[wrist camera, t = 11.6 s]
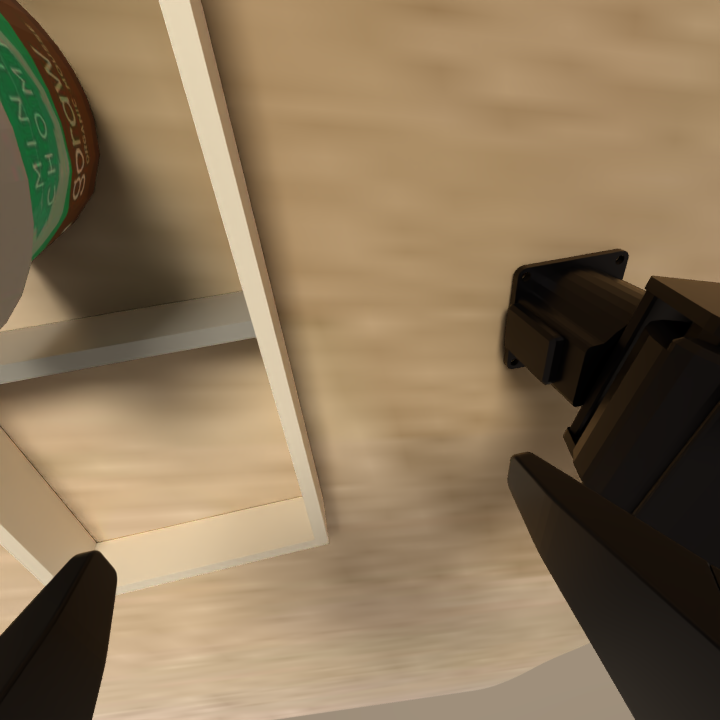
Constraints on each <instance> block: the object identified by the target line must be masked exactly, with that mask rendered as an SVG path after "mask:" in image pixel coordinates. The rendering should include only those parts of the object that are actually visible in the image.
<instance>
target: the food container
mask: <svg viewBox="0 0 720 720" xmlns="http://www.w3.org/2000/svg"><path fill="white" fill-rule="evenodd" d="M99 157H100V152H99V146H98V140H97V134H96V127H95V121H94V117H93V115H92V112H91V109H90V106H89V103H88V100H87V97H86V95H85V93H84V91H83V89H82V87H81V85H80V83H79V81H78V79H77V77H76V75H75V73H74V71H73V69H72V68H71V66H70V65H69V63H68V62H67V60H66V59H65V57H64V56H63V54H62V52H61V51H60V49H59V48H58V46H57V45H56V44H55V43H54V41H53V40H52V39H51V38H50V37H49V35H48V34H47V33H46V32H45V30H44V29H43V28H42V27H41V26H40V24H39V23H38V22H37V21H36V20H35V19H34V18H33V17H32V16H31V15H30V14H29V13H28V12H27V11H26V10H25V9H24V8H23V7H22V6H21V5H20V4H19V3H18V2H17V1H16V0H0V329H1V328H2V327H3V326H4V325H5V324H6V323H7V321H8V319H9V317H10V315H11V314H12V312H13V310H14V308H15V307H16V305H17V303H18V301H19V300H20V298H21V296H22V293H23V290H24V286H25V283H26V280H27V276H28V273H29V269H30V266H31V261H32V260H34V259H35V258H36V257H37V256H38V255H39V254H40V253H41V252H42V251H43V250H44V249H45V248H47V247H48V246H49V245H50V244H51V243H52V242H53V241H54V240H55V239H56V238H57V237H59V236H60V235H61V234H62V233H63V232H64V231H65V230H66V229H67V228H68V227H69V226H71V225H72V224H73V223H74V222H75V221H76V219H77V218H78V216H79V215H80V213H81V211H82V210H83V208H84V207H85V205H86V204H87V202H88V200H89V199H90V197H91V196H92V194H93V193H94V188H95V182H96V176H97V169H98V163H99Z"/></svg>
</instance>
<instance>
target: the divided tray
mask: <svg viewBox="0 0 720 720" xmlns="http://www.w3.org/2000/svg"><path fill="white" fill-rule="evenodd" d="M159 3H160V6H161V10H162V13H163V17H164V20H165V24H166V27H167V31H168V34H169V38H170V41H171V44H172V48H173V51H174V55H175V58H176V62H177V65H178V69H179V72H180V76H181V79H182V82H183V86H184V89H185V93H186V96H187V100H188V103H189V107H190V110H191V113H192V117H193V120H194V124H195V127H196V131H197V134H198V138H199V141H200V145H201V148H202V151H203V155H204V158H205V162H206V165H207V169H208V172H209V176H210V179H211V183H212V186H213V189H214V193H215V196H216V200H217V203H218V207H219V210H220V214H221V217H222V221H223V224H224V227H225V231H226V234H227V238H228V241H229V245H230V248H231V252H232V255H233V259H234V262H235V265H236V269H237V272H238V276H239V279H240V283H241V286H242V290H243V291H239V292H233V293H227V294H221V295H215V296H210V297H204V298H198V299H192V300H186V301H180V302H174V303H168V304H163V305H157V306H151V307H145V308H139V309H133V310H127V311H121V312H116V313H110V314H104V315H98V316H92V317H86V318H80V319H74V320H69V321H63V322H57V323H51V324H45V325H39V326H33V327H27V328H22V329H16V330H10V331H4V332H0V384H4V383H10V382H15V381H21V380H26V379H32V378H37V377H42V376H48V375H53V374H59V373H64V372H70V371H75V370H81V369H86V368H92V367H97V366H103V365H108V364H113V363H119V362H124V361H130V360H135V359H141V358H146V357H152V356H157V355H163V354H168V353H174V352H179V351H184V350H190V349H195V348H201V347H206V346H212V345H217V344H223V343H228V342H234V341H239V340H245V339H250V338H257V341H258V345H259V348H260V352H261V355H262V359H263V362H264V366H265V369H266V372H267V376H268V379H269V383H270V386H271V390H272V393H273V397H274V400H275V404H276V407H277V410H278V414H279V417H280V421H281V424H282V428H283V431H284V435H285V438H286V442H287V445H288V448H289V452H290V455H291V459H292V462H293V466H294V469H295V473H296V476H297V480H298V483H299V486H300V490H301V493H302V497H297V498H293V499H288V500H284V501H280V502H275V503H271V504H266V505H262V506H258V507H253V508H249V509H245V510H240V511H236V512H231V513H227V514H223V515H218V516H214V517H209V518H205V519H201V520H196V521H192V522H187V523H183V524H179V525H174V526H170V527H165V528H161V529H157V530H152V531H148V532H143V533H139V534H135V535H130V536H126V537H122V538H117V539H113V540H108V541H104V542H100V543H96V542H95V540H94V539H93V538H92V537H91V536H90V534H89V533H88V532H87V531H86V530H85V528H84V527H83V526H82V525H81V523H80V522H79V521H78V520H77V519H76V517H75V516H74V515H73V514H72V513H71V511H70V510H69V509H68V508H67V507H66V505H65V504H64V503H63V502H62V501H61V499H60V498H59V497H58V496H57V495H56V493H55V492H54V491H53V490H52V489H51V487H50V486H49V485H48V484H47V482H46V481H45V480H44V479H43V478H42V476H41V475H40V474H39V473H38V472H37V470H36V469H35V468H34V467H33V466H32V464H31V463H30V462H29V461H28V460H27V458H26V457H25V456H24V455H23V454H22V452H21V451H20V450H19V449H18V448H17V446H16V445H15V444H14V443H13V441H12V440H11V439H10V438H9V437H8V435H7V434H6V433H5V432H4V431H3V429H2V428H1V427H0V544H1V545H2V546H3V547H4V548H5V549H6V550H7V551H8V552H9V553H10V554H11V555H12V556H13V557H14V558H16V559H17V560H18V561H19V562H20V563H21V564H22V565H23V566H24V567H25V568H26V569H27V570H28V571H29V572H31V573H32V574H33V575H34V576H35V577H36V578H37V579H38V580H39V581H40V582H41V583H42V584H43V585H44V586H46V585H47V584H48V583H49V582H50V581H51V579H52V578H53V577H54V576H55V575H56V574H57V573H58V572H59V571H60V570H61V569H62V567H63V566H64V565H65V564H66V563H67V562H68V561H69V560H70V559H71V558H72V557H73V556H75V555H77V554H79V553H83V552H88V551H92V550H98V551H100V552H101V553H102V554H103V555H104V557H105V558H106V559H107V560H108V561H109V563H110V564H111V565H112V566H113V567H114V569H115V570H116V573H117V588H116V595H120V594H124V593H128V592H132V591H136V590H140V589H144V588H149V587H153V586H157V585H161V584H165V583H169V582H173V581H177V580H182V579H186V578H190V577H194V576H198V575H202V574H206V573H211V572H215V571H219V570H223V569H227V568H231V567H235V566H239V565H244V564H248V563H252V562H256V561H260V560H264V559H268V558H273V557H277V556H281V555H285V554H289V553H293V552H297V551H301V550H306V549H310V548H314V547H318V546H322V545H326V544H329V538H328V531H327V524H326V516H325V509H324V501H323V496H322V492H321V488H320V484H319V480H318V476H317V472H316V468H315V464H314V460H313V455H312V451H311V447H310V443H309V439H308V435H307V431H306V427H305V423H304V419H303V415H302V411H301V406H300V402H299V398H298V394H297V390H296V386H295V382H294V378H293V374H292V370H291V366H290V362H289V358H288V353H287V349H286V345H285V341H284V337H283V333H282V329H281V325H280V321H279V317H278V313H277V309H276V304H275V300H274V296H273V292H272V288H271V284H270V280H269V276H268V272H267V268H266V264H265V260H264V256H263V251H262V247H261V243H260V239H259V235H258V231H257V227H256V223H255V219H254V215H253V211H252V207H251V202H250V198H249V194H248V190H247V186H246V182H245V178H244V174H243V170H242V166H241V162H240V158H239V154H238V149H237V145H236V141H235V137H234V133H233V129H232V125H231V121H230V117H229V113H228V109H227V105H226V100H225V96H224V92H223V88H222V84H221V80H220V76H219V72H218V68H217V64H216V60H215V56H214V52H213V47H212V43H211V39H210V35H209V31H208V27H207V23H206V19H205V15H204V11H203V7H202V3H201V0H159ZM116 595H115V596H116Z"/></svg>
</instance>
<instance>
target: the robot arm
mask: <svg viewBox="0 0 720 720" xmlns="http://www.w3.org/2000/svg"><path fill="white" fill-rule="evenodd" d="M618 257H619V258H618ZM628 257H629V255H628V252H626V251H624V250H621V249H613V250H608V251H602V252H596V253H591V254H585V255H579V256H574V257H568V258H562V259H557V260H551V261H545V262H540V263H534V264H528V265H523V266H521V267H519V268H518V269H517V270H516V271H515V274H514V279H513V287H512V295H511V304H510V307H509V308H508V314H507V323H506V331H505V340H504V346H505V354H504V363H505V365H506V366H507V367H508V368H510V369H515V368H520V367H525V366H526V367H527V368H528V369H529V370H530V371H531V372H532V373H533V374H534V375H535V376H536V377H537V378H538V379H539V380H540V381H541V382H542V383H543V384H545V385H547V384H551V385H552V386H553V387H554V388H555V389H556V390H557V391H558V392H560V393H561V394H562V395H563V396H564V397H565V398H566V399H567V400H568V401H569V402H570V403H571V404H572V405H573V406H574V407H578V406H582V407H581V409H580V410H579V412H578V414H577V416H576V418H575V419H574V421H573V423H572V425H571V427H568V428H567V430H566V431H565V433H564V435H563V437H564V440H565V442H566V444H567V446H568V449H569V451H570V453H571V455H572V458H573V463H574V466H575V468H576V470H577V472H578V474H579V477H580V479H581V480H582V483H580V482H578V481H577V480H575V479H573V478H572V477H570V476H568V475H567V474H565V473H564V472H562V471H560V470H559V469H557V468H556V467H554V466H552V465H551V464H549V463H547V462H546V461H544V460H543V459H541V458H539V457H538V456H536V455H535V454H533V453H530V452H524V453H519V454H515V455H513V456H512V457H511V459H510V465H509V471H508V478H507V480H508V486H509V489H510V491H511V493H512V496H513V498H514V500H515V502H516V504H517V507H518V509H519V511H520V513H521V515H522V518H523V520H524V522H525V524H526V526H527V529H528V531H529V533H530V535H531V538H532V540H533V542H534V544H535V546H536V548H537V550H538V552H539V554H540V556H541V558H542V560H543V561H544V563H545V565H546V567H547V568H548V570H549V572H550V574H551V575H552V577H553V579H554V580H555V582H556V584H557V586H558V587H559V589H560V591H561V593H562V594H563V596H564V598H565V599H566V601H567V603H568V605H569V606H570V608H571V610H572V611H573V613H574V615H575V617H576V618H577V620H578V622H579V624H580V625H581V627H582V629H583V630H584V632H585V634H586V636H587V637H588V639H589V641H590V643H591V644H592V646H593V648H594V649H595V651H596V653H597V655H598V656H599V658H600V659H601V661H602V663H603V665H604V667H605V668H606V670H607V672H608V673H609V675H610V677H611V679H612V680H613V682H614V684H615V685H616V687H617V689H618V691H619V692H620V694H621V696H622V698H623V699H624V701H625V703H626V705H627V706H628V708H629V710H630V711H631V713H632V715H633V717H634V718H635V720H720V283H716V282H707V281H697V280H688V279H679V278H669V277H660V276H651V278H650V279H649V281H648V283H647V285H646V287H645V289H646V291H645V290H643V289H641V288H639V287H636V286H634V285H632V284H630V283H628V282H626V281H624V280H622V279H623V276H624V272H625V269H626V265H627V261H628ZM617 258H618V260H617V261H616V259H617ZM526 272H527V275H526V276H525V277H524V278H522V276H523V274H524V273H526ZM513 359H515V360H514V361H512V360H513ZM511 361H512V362H511ZM116 588H117V573H116V570H115V569H114V567H113V566H112V565H111V564H110V563H109V561H108V560H107V559H106V558H105V557H104V555H103V554H102V553H101V552H100V551H98V550H92V551H88V552H83V553H79V554H77V555H75V556H73V557H72V558H71V559H70V560H69V561H68V562H67V563H66V564H65V565H64V566H63V567H62V569H61V570H60V571H59V572H58V573H57V574H56V575H55V576H54V577H53V578H52V579H51V581H50V582H49V583H48V584H47V585H46V586H45V587H44V588H43V589H42V590H41V592H40V593H39V594H38V595H37V596H36V597H35V598H34V599H33V600H32V601H31V603H30V604H29V605H28V606H27V607H26V608H25V609H24V610H23V611H22V612H21V613H20V615H19V616H18V617H17V618H16V619H15V620H14V621H13V622H12V623H11V624H10V626H9V627H8V628H7V629H6V630H5V631H4V632H3V633H2V634H1V635H0V720H92V717H93V713H94V709H95V705H96V701H97V697H98V693H99V689H100V685H101V680H102V676H103V672H104V667H105V663H106V657H107V651H108V644H109V637H110V630H111V623H112V616H113V609H114V602H115V595H116Z"/></svg>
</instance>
